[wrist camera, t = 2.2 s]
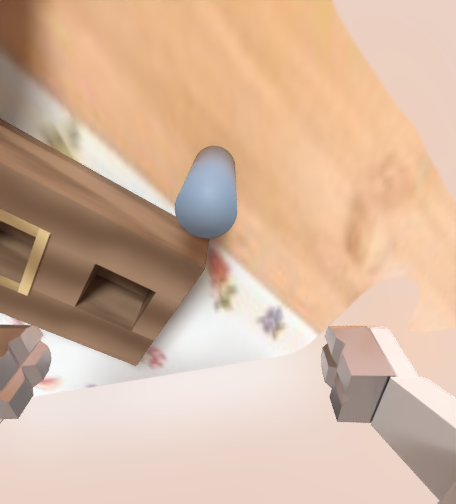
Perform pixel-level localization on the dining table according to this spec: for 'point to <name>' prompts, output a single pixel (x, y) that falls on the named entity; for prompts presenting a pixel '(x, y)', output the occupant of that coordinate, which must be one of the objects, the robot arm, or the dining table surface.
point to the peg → (208, 194)
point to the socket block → (87, 252)
